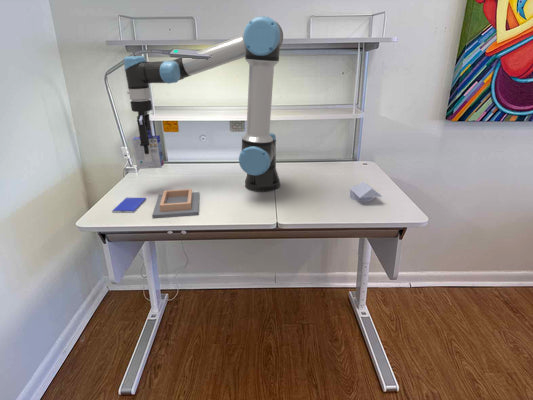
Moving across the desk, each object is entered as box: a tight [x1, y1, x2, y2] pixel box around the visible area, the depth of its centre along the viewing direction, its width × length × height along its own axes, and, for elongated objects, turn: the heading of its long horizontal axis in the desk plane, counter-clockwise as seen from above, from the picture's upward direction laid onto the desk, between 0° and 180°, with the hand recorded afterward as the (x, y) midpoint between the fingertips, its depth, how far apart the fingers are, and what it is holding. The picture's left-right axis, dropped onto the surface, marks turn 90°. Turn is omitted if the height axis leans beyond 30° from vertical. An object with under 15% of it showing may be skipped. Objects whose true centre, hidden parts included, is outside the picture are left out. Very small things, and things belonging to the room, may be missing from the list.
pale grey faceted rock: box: [349, 181, 382, 202], centre depth 141 cm, size 9×7×13 cm
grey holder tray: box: [151, 188, 200, 219], centre depth 138 cm, size 16×20×4 cm
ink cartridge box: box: [132, 129, 165, 170], centre depth 144 cm, size 10×6×14 cm, turn 94°
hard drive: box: [111, 197, 147, 214], centre depth 138 cm, size 2×8×12 cm
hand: (149, 159), depth 146 cm, fingers closed on ink cartridge box, 6 cm apart
